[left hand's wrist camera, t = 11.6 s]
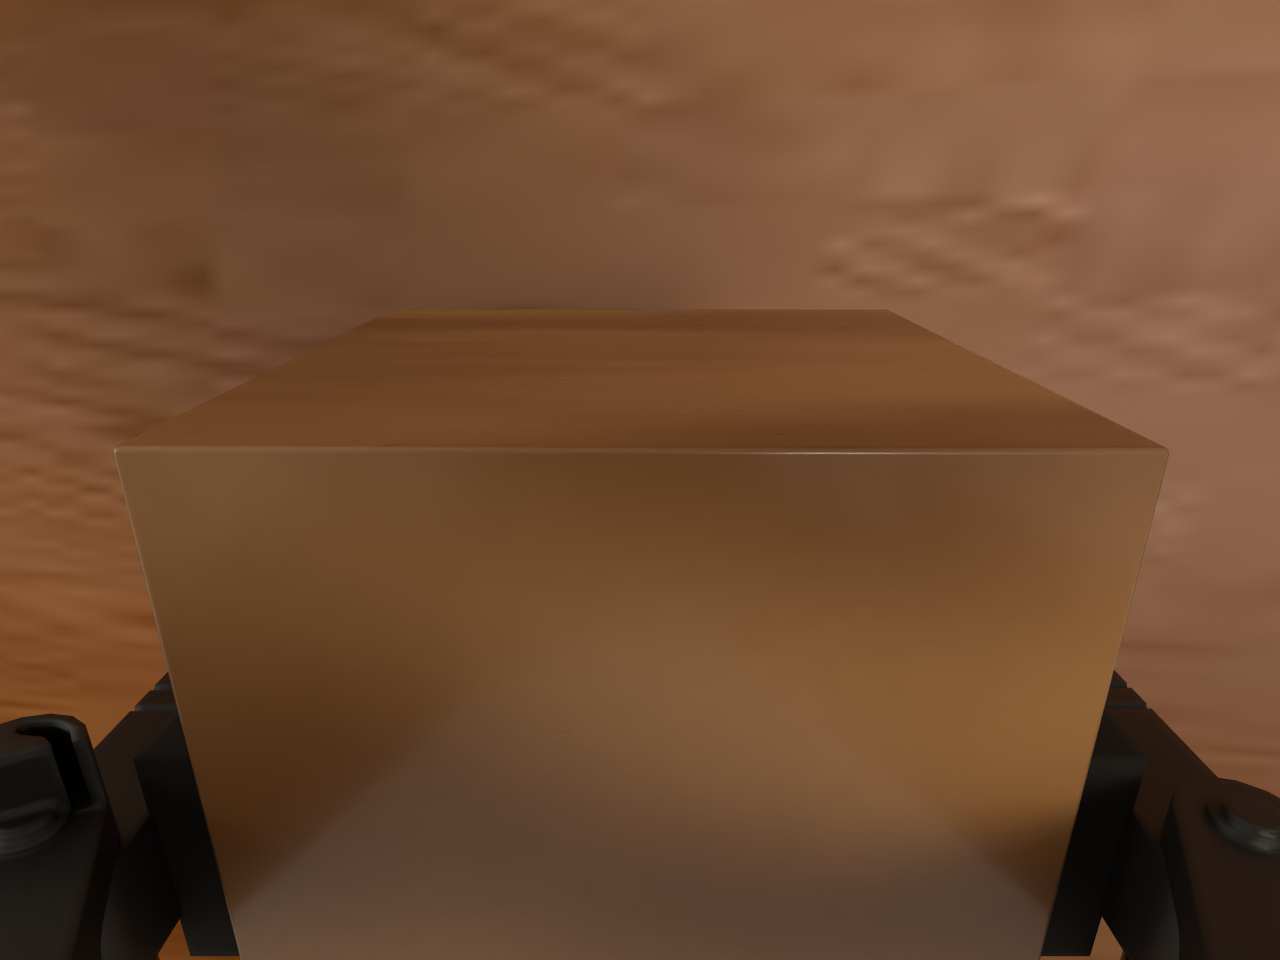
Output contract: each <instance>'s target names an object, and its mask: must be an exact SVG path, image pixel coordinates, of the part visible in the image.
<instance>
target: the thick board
mask: <svg viewBox="0 0 1280 960" xmlns="http://www.w3.org/2000/svg"><path fill="white" fill-rule="evenodd" d="M113 454H114V458H115V462H116V466H117V470H118V474H119V478H120V482H121V486H122V490H123V494H124V498H125V502H126V506H127V510H128V514H129V518H130V522H131V526H132V530H133V534H134V538H135V541H136V545H137V549H138V553H139V557H140V561H141V565H142V569H143V573H144V577H145V581H146V585H147V589H148V593H149V597H150V601H151V605H152V609H153V613H154V617H155V621H156V625H157V629H158V633H159V637H160V641H161V645H162V649H163V653H164V657H165V661H166V665H167V669H168V673H169V677H170V680H171V684H172V688H173V692H174V696H175V700H176V704H177V708H178V712H179V716H180V720H181V724H182V728H183V732H184V736H185V740H186V744H187V748H188V752H189V756H190V760H191V764H192V768H193V772H194V776H195V780H196V784H197V788H198V792H199V796H200V800H201V804H202V808H203V812H204V816H205V819H206V823H207V827H208V831H209V835H210V839H211V843H212V847H213V851H214V855H215V859H216V863H217V867H218V871H219V875H220V879H221V883H222V887H223V891H224V895H225V899H226V903H227V907H228V911H229V915H230V919H231V923H232V927H233V931H234V935H235V939H236V943H237V947H238V951H239V955H240V958H241V960H1040V957H1041V953H1042V949H1043V945H1044V941H1045V937H1046V933H1047V929H1048V925H1049V921H1050V917H1051V914H1052V910H1053V906H1054V902H1055V898H1056V894H1057V890H1058V886H1059V882H1060V878H1061V874H1062V871H1063V867H1064V863H1065V859H1066V855H1067V851H1068V847H1069V843H1070V839H1071V835H1072V831H1073V828H1074V824H1075V820H1076V816H1077V812H1078V808H1079V804H1080V800H1081V796H1082V792H1083V788H1084V785H1085V781H1086V777H1087V773H1088V769H1089V765H1090V761H1091V757H1092V753H1093V749H1094V745H1095V742H1096V738H1097V734H1098V730H1099V726H1100V722H1101V718H1102V714H1103V710H1104V706H1105V702H1106V699H1107V695H1108V691H1109V687H1110V683H1111V679H1112V675H1113V671H1114V667H1115V663H1116V659H1117V656H1118V652H1119V648H1120V644H1121V640H1122V636H1123V632H1124V628H1125V624H1126V620H1127V616H1128V613H1129V609H1130V605H1131V601H1132V597H1133V593H1134V589H1135V585H1136V581H1137V577H1138V573H1139V570H1140V566H1141V562H1142V558H1143V554H1144V550H1145V546H1146V542H1147V538H1148V534H1149V530H1150V526H1151V523H1152V519H1153V515H1154V511H1155V507H1156V503H1157V499H1158V495H1159V491H1160V487H1161V483H1162V480H1163V476H1164V472H1165V468H1166V464H1167V460H1168V456H1169V452H1168V449H1167V448H1165V447H1163V446H1161V445H1159V444H1157V443H1155V442H1153V441H1151V440H1149V439H1147V438H1145V437H1143V436H1141V435H1139V434H1137V433H1135V432H1133V431H1131V430H1129V429H1127V428H1125V427H1123V426H1121V425H1119V424H1117V423H1115V422H1113V421H1111V420H1109V419H1107V418H1105V417H1103V416H1101V415H1099V414H1097V413H1095V412H1093V411H1091V410H1088V409H1086V408H1084V407H1082V406H1080V405H1078V404H1076V403H1074V402H1072V401H1070V400H1068V399H1066V398H1064V397H1062V396H1060V395H1058V394H1056V393H1054V392H1052V391H1050V390H1048V389H1046V388H1044V387H1042V386H1040V385H1038V384H1036V383H1034V382H1032V381H1030V380H1028V379H1026V378H1024V377H1022V376H1020V375H1018V374H1016V373H1014V372H1012V371H1010V370H1008V369H1006V368H1004V367H1002V366H1000V365H998V364H996V363H994V362H992V361H990V360H988V359H985V358H983V357H981V356H979V355H977V354H975V353H973V352H971V351H969V350H967V349H965V348H963V347H961V346H959V345H957V344H955V343H953V342H951V341H949V340H947V339H945V338H943V337H941V336H939V335H937V334H935V333H933V332H931V331H929V330H927V329H925V328H923V327H921V326H919V325H917V324H915V323H913V322H911V321H909V320H907V319H905V318H903V317H901V316H899V315H897V314H895V313H893V312H891V311H888V310H613V309H394V310H392V311H389V312H387V313H385V314H383V315H381V316H379V317H377V318H375V319H373V320H371V321H369V322H367V323H365V324H363V325H361V326H359V327H357V328H355V329H353V330H351V331H349V332H347V333H345V334H343V335H341V336H339V337H337V338H335V339H333V340H331V341H329V342H327V343H325V344H323V345H321V346H319V347H317V348H315V349H312V350H310V351H308V352H306V353H304V354H302V355H300V356H298V357H296V358H294V359H292V360H290V361H288V362H286V363H284V364H282V365H280V366H278V367H276V368H274V369H272V370H270V371H268V372H266V373H264V374H262V375H260V376H258V377H256V378H254V379H252V380H250V381H248V382H246V383H244V384H242V385H240V386H238V387H235V388H233V389H231V390H229V391H227V392H225V393H223V394H221V395H219V396H217V397H215V398H213V399H211V400H209V401H207V402H205V403H203V404H201V405H199V406H197V407H195V408H193V409H191V410H189V411H187V412H185V413H183V414H181V415H179V416H177V417H175V418H173V419H171V420H169V421H167V422H165V423H163V424H161V425H158V426H156V427H154V428H152V429H150V430H148V431H146V432H144V433H142V434H140V435H138V436H136V437H134V438H132V439H130V440H128V441H126V442H124V443H122V444H120V445H118V446H116V447H115V448H114V452H113Z"/></svg>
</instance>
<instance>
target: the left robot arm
mask: <svg viewBox="0 0 1280 960" xmlns="http://www.w3.org/2000/svg"><path fill="white" fill-rule="evenodd" d="M1101 917H1103V919H1104V920H1105V922H1106V923H1107V925H1108V927H1109V928H1110V930H1111V931H1112V933H1113V935H1114V936H1115V938H1116V939H1117V941H1118V943H1119V944H1120V946H1121V947H1122V949H1123V953H1122V956H1121V959H1120V960H1280V798H1278V797H1276V796H1275V795H1273V794H1271V793H1269V792H1267V791H1265V790H1262V789H1259V788H1256V787H1253V786H1250V785H1248V784H1245V783H1242V782H1239V781H1236V780H1229V779H1223V778H1218V777H1217V776H1216V775H1215V774H1214V773H1213V772H1212V771H1211V770H1210V769H1209V768H1208V767H1207V766H1206V765H1205V764H1204V763H1203V762H1202V761H1201V760H1200V759H1199V758H1198V756H1197V755H1196V754H1195V753H1194V752H1193V751H1192V750H1191V749H1190V748H1189V747H1188V746H1187V745H1186V744H1185V743H1184V742H1183V741H1182V740H1181V739H1180V738H1179V737H1178V736H1177V735H1176V734H1175V733H1174V732H1173V731H1172V730H1171V729H1170V727H1169V726H1168V725H1167V724H1166V723H1165V722H1164V721H1163V720H1162V719H1161V718H1160V717H1159V716H1158V715H1157V714H1156V713H1155V712H1154V711H1153V710H1152V709H1147V707H1146V703H1145V702H1144V701H1143V699H1142V698H1141V697H1140V696H1139V695H1138V694H1137V693H1136V692H1135V691H1134V690H1133V689H1132V688H1127V683H1126V682H1125V681H1124V680H1123V679H1122V678H1121V677H1120V676H1119V675H1118V674H1117V673H1116V671H1115V670H1114V671H1113V675H1112V679H1111V683H1110V687H1109V691H1108V695H1107V699H1106V702H1105V706H1104V710H1103V714H1102V718H1101V722H1100V726H1099V730H1098V734H1097V738H1096V742H1095V745H1094V749H1093V753H1092V757H1091V761H1090V765H1089V769H1088V773H1087V777H1086V781H1085V785H1084V788H1083V792H1082V796H1081V800H1080V804H1079V808H1078V812H1077V816H1076V820H1075V824H1074V828H1073V831H1072V835H1071V839H1070V843H1069V847H1068V851H1067V855H1066V859H1065V863H1064V867H1063V871H1062V874H1061V878H1060V882H1059V886H1058V890H1057V894H1056V898H1055V902H1054V906H1053V910H1052V914H1051V917H1050V921H1049V925H1048V929H1047V933H1046V937H1045V941H1044V945H1043V949H1042V953H1041V956H1090V954H1091V950H1092V947H1093V944H1094V940H1095V937H1096V934H1097V930H1098V927H1099V923H1100V920H1101ZM179 919H180V921H181V924H182V928H183V931H184V935H185V938H186V941H187V945H188V948H189V952H190V955H191V956H240V955H239V951H238V947H237V943H236V939H235V935H234V931H233V927H232V923H231V919H230V915H229V911H228V907H227V903H226V899H225V895H224V891H223V887H222V883H221V879H220V875H219V871H218V867H217V863H216V859H215V855H214V851H213V847H212V843H211V839H210V835H209V831H208V827H207V823H206V819H205V816H204V812H203V808H202V804H201V800H200V796H199V792H198V788H197V784H196V780H195V776H194V772H193V768H192V764H191V760H190V756H189V752H188V748H187V744H186V740H185V736H184V732H183V728H182V724H181V720H180V716H179V712H178V708H177V704H176V700H175V696H174V692H173V688H172V684H171V680H170V677H169V673H168V672H167V673H166V674H165V675H164V677H163V678H162V679H161V680H160V681H159V682H158V683H157V684H156V685H155V690H150V691H149V692H148V693H147V694H146V695H145V696H144V697H143V698H142V700H141V701H140V702H139V703H138V704H137V705H136V706H135V711H130V712H129V713H128V714H127V715H126V716H125V717H124V718H123V719H122V720H121V721H120V722H119V724H118V725H117V726H116V727H115V728H114V729H113V730H112V731H111V732H110V733H109V734H108V735H107V736H106V737H105V738H104V739H103V740H102V741H101V742H100V743H99V744H98V745H97V746H96V748H95V749H94V750H93V747H92V744H91V741H90V738H89V735H88V731H87V728H86V725H85V724H84V723H82V722H81V721H79V720H78V719H76V718H75V717H73V716H67V715H58V714H44V715H37V716H29V717H22V718H19V719H15V720H12V721H9V722H5V723H2V724H0V960H160V959H159V956H158V953H159V951H160V949H161V948H162V946H163V945H164V943H165V941H166V940H167V938H168V937H169V935H170V933H171V932H172V930H173V929H174V927H175V925H176V924H177V922H178V921H179Z"/></svg>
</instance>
